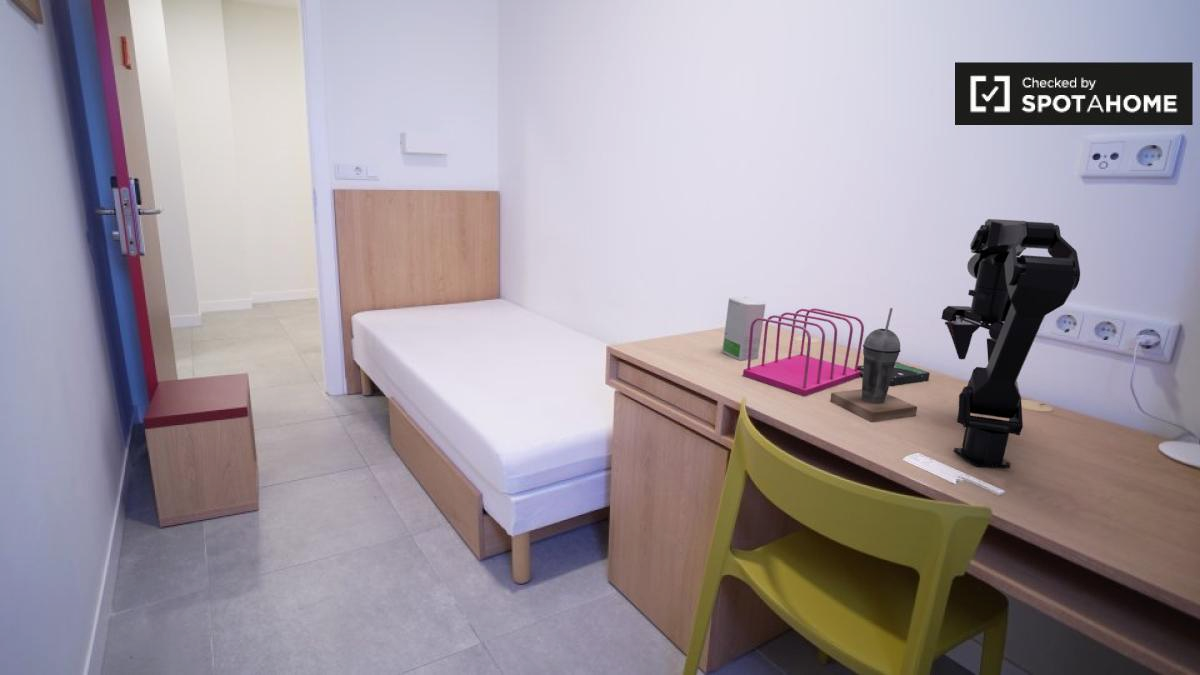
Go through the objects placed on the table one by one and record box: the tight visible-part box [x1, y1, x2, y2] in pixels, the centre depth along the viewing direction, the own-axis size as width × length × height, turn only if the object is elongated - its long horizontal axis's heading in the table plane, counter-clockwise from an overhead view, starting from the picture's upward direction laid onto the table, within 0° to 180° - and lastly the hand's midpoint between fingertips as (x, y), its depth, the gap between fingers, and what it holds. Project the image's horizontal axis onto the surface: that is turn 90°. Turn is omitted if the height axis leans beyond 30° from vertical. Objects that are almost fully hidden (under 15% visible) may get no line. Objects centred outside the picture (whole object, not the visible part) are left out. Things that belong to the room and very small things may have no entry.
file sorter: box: [742, 307, 865, 397], centre depth 148 cm, size 17×25×16 cm
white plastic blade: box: [902, 452, 1006, 496], centre depth 101 cm, size 5×15×1 cm, turn 28°
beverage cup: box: [861, 307, 901, 404], centre depth 127 cm, size 7×7×20 cm
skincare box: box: [721, 296, 767, 361], centre depth 164 cm, size 8×7×16 cm
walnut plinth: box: [830, 388, 918, 423], centre depth 130 cm, size 12×12×2 cm
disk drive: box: [857, 361, 931, 388], centre depth 152 cm, size 10×3×15 cm
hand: (976, 366), depth 118 cm, fingers open, 9 cm apart
